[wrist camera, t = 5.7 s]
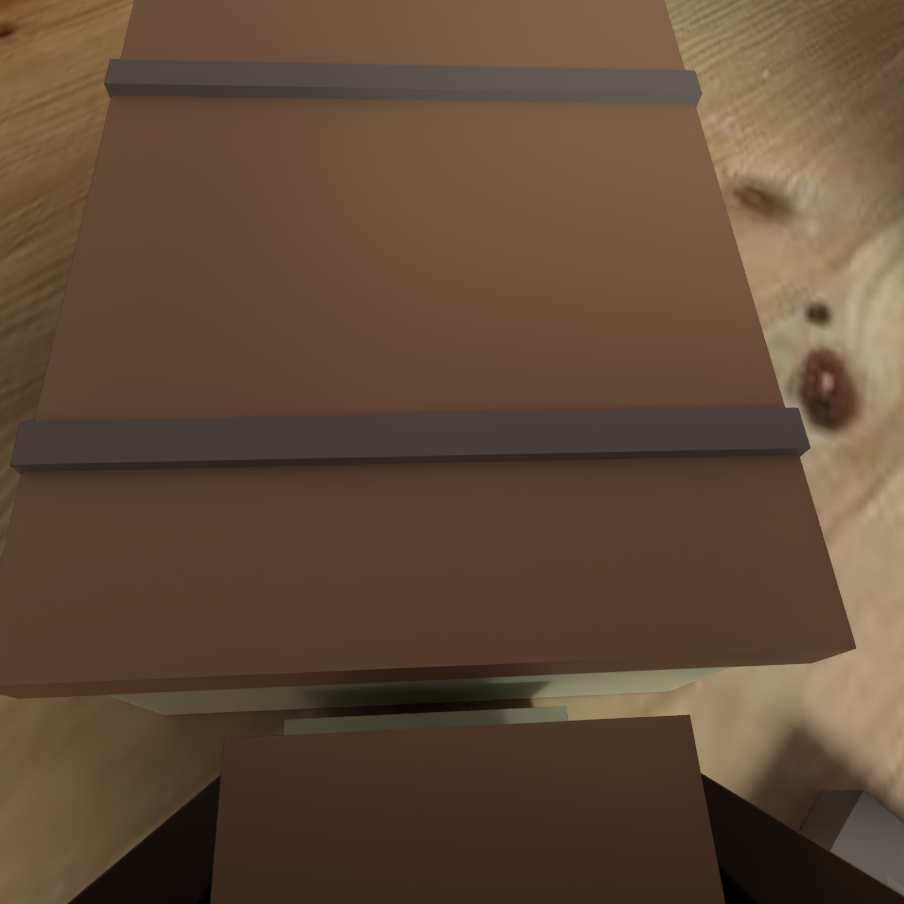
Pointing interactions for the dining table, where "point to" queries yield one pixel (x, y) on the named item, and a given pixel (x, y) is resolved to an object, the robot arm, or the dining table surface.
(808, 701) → the dining table surface
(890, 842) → the felt tray
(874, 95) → the dining table surface
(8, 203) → the dining table surface
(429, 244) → the tool chest
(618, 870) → the wooden block
